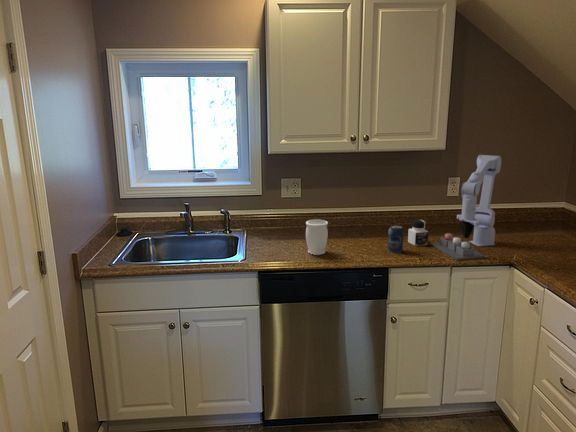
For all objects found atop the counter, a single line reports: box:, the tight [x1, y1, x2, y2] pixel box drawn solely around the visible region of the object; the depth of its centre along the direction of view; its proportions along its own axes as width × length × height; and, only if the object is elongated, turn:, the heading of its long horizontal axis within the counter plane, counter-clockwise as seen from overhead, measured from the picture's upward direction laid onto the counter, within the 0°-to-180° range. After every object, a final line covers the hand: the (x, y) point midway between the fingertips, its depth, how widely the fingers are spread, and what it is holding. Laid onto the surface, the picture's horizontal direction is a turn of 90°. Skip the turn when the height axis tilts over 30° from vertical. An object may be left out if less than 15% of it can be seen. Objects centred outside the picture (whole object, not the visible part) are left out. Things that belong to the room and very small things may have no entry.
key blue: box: [461, 241, 471, 249], centre depth 206 cm, size 4×4×3 cm
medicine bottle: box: [407, 219, 429, 247], centre depth 224 cm, size 7×7×12 cm
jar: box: [305, 219, 329, 256], centre depth 212 cm, size 11×10×15 cm
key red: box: [444, 232, 454, 240], centre depth 219 cm, size 4×4×3 cm
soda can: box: [387, 224, 404, 254], centre depth 213 cm, size 7×7×12 cm
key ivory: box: [453, 237, 462, 245], centre depth 213 cm, size 4×4×3 cm
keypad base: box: [429, 236, 486, 261], centre depth 213 cm, size 14×24×4 cm, turn 12°
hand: (466, 237), depth 205 cm, fingers closed
